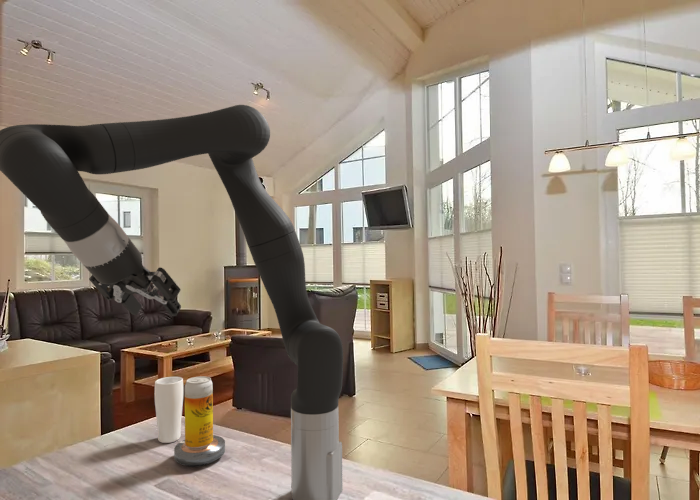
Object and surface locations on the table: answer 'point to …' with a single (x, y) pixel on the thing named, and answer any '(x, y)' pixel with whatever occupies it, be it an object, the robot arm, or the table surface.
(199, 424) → the beer can
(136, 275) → the robot arm
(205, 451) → the disc
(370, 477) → the table surface
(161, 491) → the table surface
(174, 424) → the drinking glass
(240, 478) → the table surface
